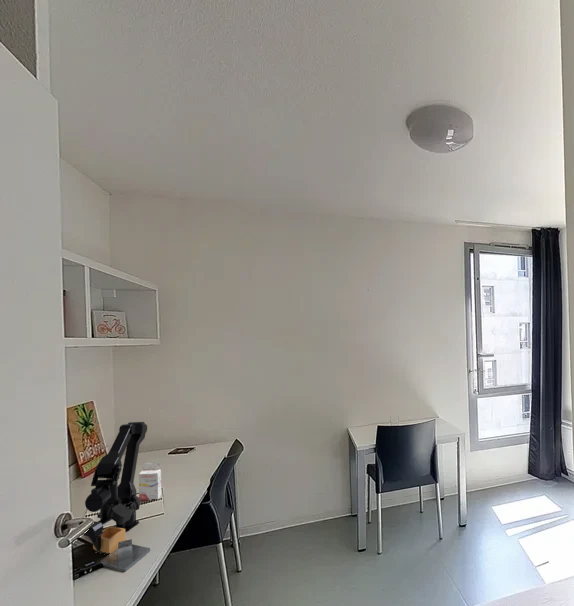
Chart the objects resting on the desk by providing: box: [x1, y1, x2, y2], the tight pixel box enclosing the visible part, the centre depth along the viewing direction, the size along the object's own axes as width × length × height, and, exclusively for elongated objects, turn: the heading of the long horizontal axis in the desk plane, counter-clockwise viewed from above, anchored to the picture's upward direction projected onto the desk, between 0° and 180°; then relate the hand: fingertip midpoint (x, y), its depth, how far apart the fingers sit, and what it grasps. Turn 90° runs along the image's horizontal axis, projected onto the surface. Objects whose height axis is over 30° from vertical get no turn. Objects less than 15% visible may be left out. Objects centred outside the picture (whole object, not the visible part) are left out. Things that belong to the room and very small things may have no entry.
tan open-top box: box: [92, 525, 126, 553], centre depth 132 cm, size 7×10×5 cm
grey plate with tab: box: [99, 538, 151, 573], centre depth 125 cm, size 11×11×4 cm
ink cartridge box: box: [138, 462, 162, 501], centre depth 169 cm, size 9×5×15 cm, turn 92°
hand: (109, 543), depth 131 cm, fingers open, 9 cm apart
